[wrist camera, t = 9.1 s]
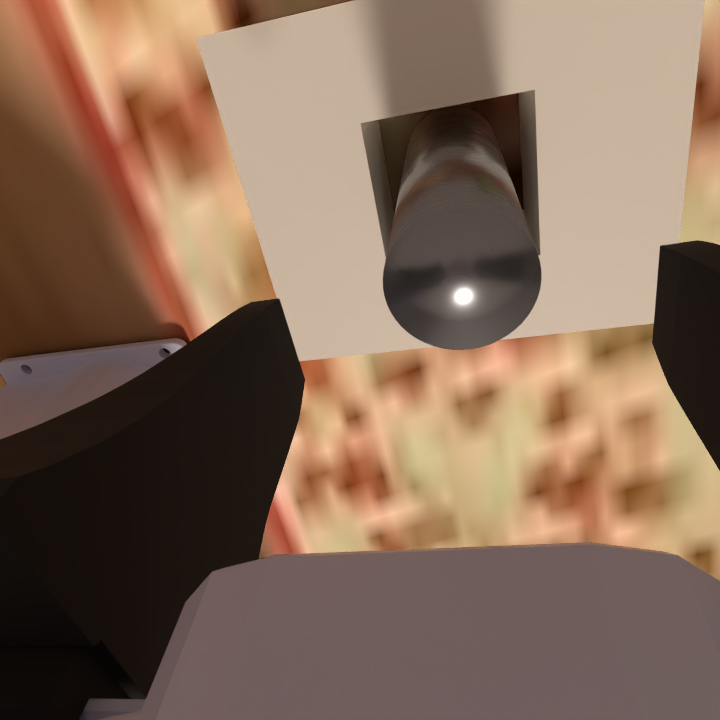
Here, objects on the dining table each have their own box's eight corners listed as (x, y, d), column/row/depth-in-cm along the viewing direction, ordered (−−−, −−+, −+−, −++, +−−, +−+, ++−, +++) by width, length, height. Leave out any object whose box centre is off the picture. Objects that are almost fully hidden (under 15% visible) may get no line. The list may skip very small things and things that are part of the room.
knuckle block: (317, 306, 23) (296, 361, 20) (241, 27, 18) (196, 38, 14) (633, 266, 21) (671, 321, 17) (654, -72, 15) (713, -86, 12)
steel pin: (416, 205, 20) (400, 359, 12) (398, 117, 19) (366, 225, 10) (502, 187, 20) (546, 337, 11) (491, 95, 18) (534, 191, 10)
